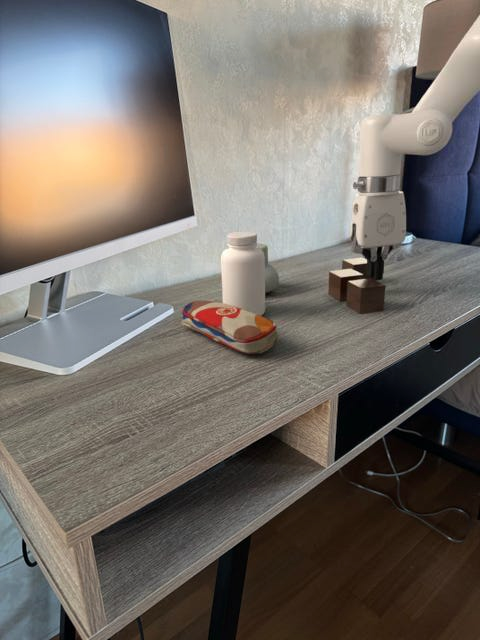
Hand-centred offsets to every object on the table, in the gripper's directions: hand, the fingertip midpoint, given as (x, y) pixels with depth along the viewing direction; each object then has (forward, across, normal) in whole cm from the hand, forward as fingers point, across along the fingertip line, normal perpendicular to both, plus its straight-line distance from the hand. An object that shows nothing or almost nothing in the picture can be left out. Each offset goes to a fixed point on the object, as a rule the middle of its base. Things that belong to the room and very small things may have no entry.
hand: (374, 278), depth 91 cm
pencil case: (+3, -35, -11) cm, 36 cm away
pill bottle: (+3, -28, -1) cm, 29 cm away
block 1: (+3, 0, +8) cm, 8 cm away
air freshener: (+3, -22, +11) cm, 25 cm away
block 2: (+3, -7, -7) cm, 10 cm away
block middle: (+3, -6, 0) cm, 7 cm away
